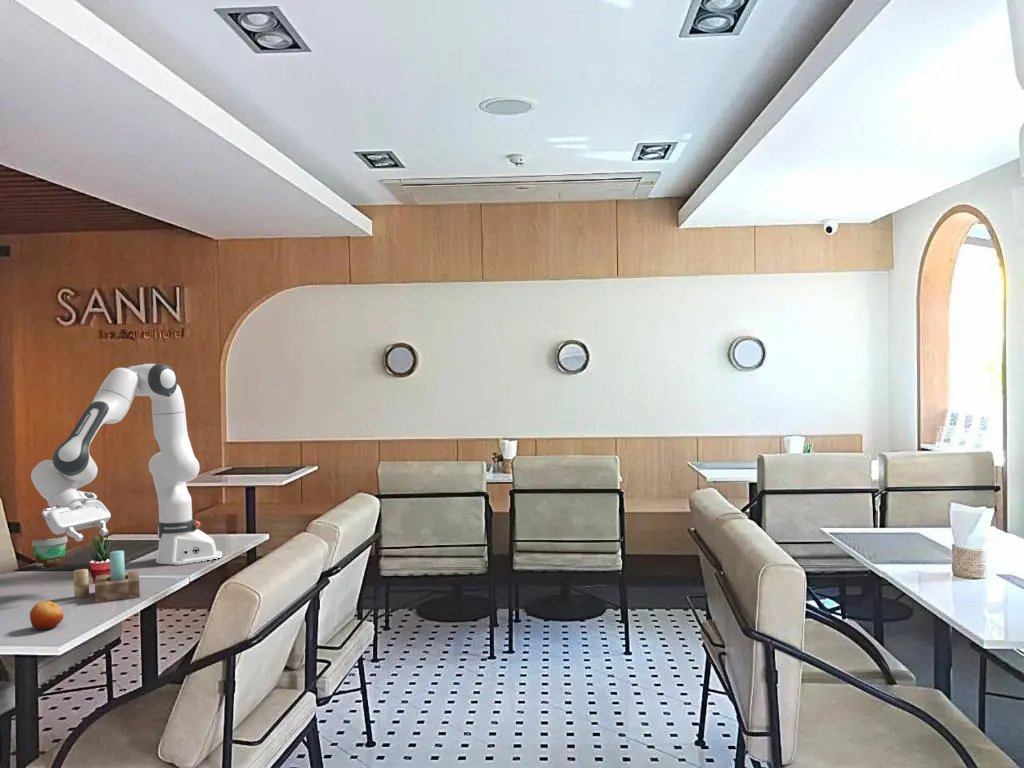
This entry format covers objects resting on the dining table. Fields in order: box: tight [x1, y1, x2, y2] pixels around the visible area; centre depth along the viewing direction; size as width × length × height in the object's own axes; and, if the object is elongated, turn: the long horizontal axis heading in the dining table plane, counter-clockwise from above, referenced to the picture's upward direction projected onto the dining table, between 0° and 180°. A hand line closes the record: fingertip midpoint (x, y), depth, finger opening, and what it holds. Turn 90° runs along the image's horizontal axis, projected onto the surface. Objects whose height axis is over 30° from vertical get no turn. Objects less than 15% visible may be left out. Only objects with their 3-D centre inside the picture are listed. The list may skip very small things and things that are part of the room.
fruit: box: [29, 600, 64, 630], centre depth 234 cm, size 8×8×8 cm
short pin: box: [73, 568, 90, 599], centre depth 266 cm, size 4×4×8 cm
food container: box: [31, 533, 69, 568], centre depth 311 cm, size 12×6×10 cm, turn 148°
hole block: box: [94, 570, 141, 604], centre depth 267 cm, size 12×14×5 cm
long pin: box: [109, 550, 126, 581], centre depth 267 cm, size 4×4×13 cm
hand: (93, 536), depth 270 cm, fingers open, 8 cm apart
